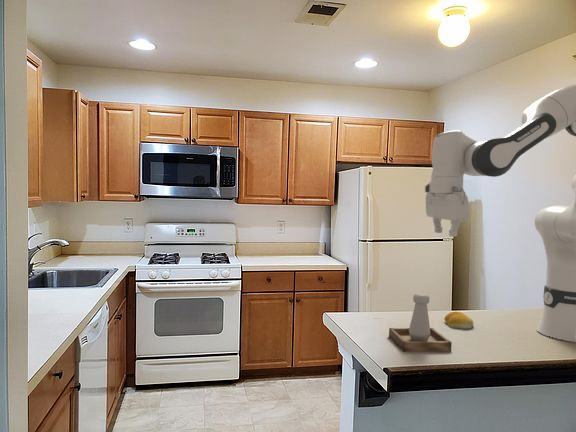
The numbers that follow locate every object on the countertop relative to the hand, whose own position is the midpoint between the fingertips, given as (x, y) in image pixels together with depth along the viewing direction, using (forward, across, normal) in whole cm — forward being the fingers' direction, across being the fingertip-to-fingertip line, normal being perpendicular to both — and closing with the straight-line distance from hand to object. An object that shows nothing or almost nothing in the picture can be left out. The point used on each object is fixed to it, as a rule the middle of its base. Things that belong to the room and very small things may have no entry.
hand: (445, 234), depth 133 cm
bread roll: (+30, +9, -9) cm, 33 cm away
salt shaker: (+29, -8, +11) cm, 32 cm away
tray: (+29, -8, +11) cm, 32 cm away
